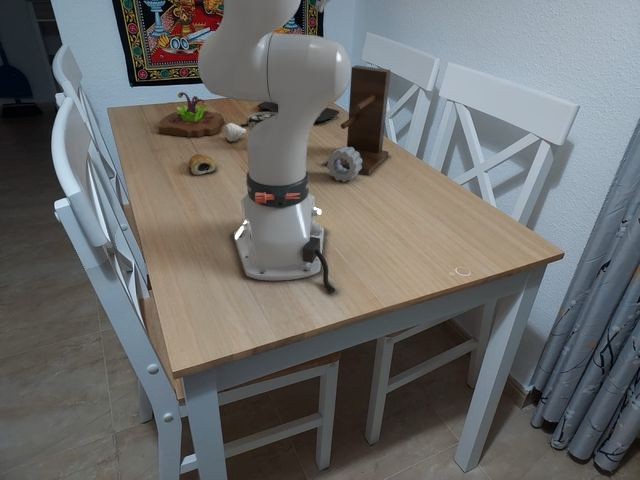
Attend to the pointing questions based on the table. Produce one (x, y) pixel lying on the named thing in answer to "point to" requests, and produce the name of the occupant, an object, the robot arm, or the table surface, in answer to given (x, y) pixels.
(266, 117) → the halved ice cream tub
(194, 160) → the pastry
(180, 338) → the table surface
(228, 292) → the table surface
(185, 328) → the table surface
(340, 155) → the grey knurled ring
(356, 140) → the stand
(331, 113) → the sushi plate
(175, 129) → the plant
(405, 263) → the table surface
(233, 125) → the white cream swirl
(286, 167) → the robot arm
